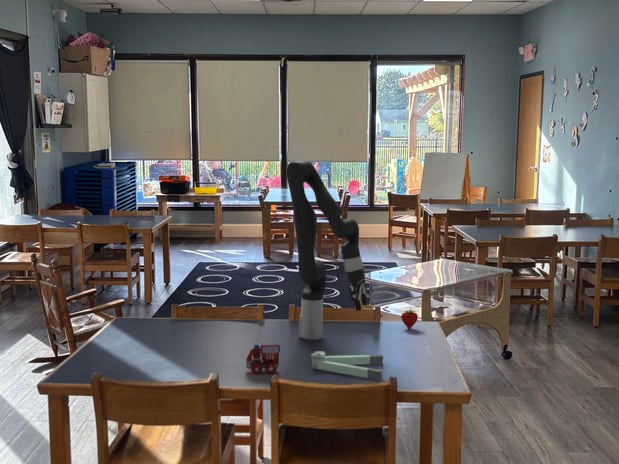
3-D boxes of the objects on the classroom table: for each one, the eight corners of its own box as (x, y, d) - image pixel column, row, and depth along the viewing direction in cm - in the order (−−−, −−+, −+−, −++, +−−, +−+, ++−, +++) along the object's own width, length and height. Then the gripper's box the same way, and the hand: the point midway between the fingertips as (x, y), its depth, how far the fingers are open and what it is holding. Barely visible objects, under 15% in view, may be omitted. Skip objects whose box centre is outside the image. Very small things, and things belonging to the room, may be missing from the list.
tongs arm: (311, 368, 263) (311, 356, 263) (309, 363, 269) (310, 351, 268) (384, 367, 266) (384, 355, 265) (381, 362, 271) (382, 350, 271)
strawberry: (399, 326, 317) (400, 305, 316) (415, 326, 318) (416, 305, 316) (402, 330, 312) (403, 308, 310) (418, 330, 312) (420, 308, 311)
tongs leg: (310, 368, 265) (310, 357, 264) (313, 365, 267) (313, 355, 267) (380, 380, 254) (380, 370, 253) (382, 378, 256) (382, 367, 256)
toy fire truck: (246, 367, 264) (246, 341, 262) (279, 367, 265) (279, 341, 263) (246, 374, 257) (246, 347, 255) (280, 374, 258) (280, 347, 256)
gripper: (350, 266, 290) (358, 304, 291) (339, 273, 277) (347, 313, 278) (368, 263, 287) (375, 302, 288) (357, 270, 274) (365, 311, 275)
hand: (362, 307), depth 283 cm, fingers open, 8 cm apart
